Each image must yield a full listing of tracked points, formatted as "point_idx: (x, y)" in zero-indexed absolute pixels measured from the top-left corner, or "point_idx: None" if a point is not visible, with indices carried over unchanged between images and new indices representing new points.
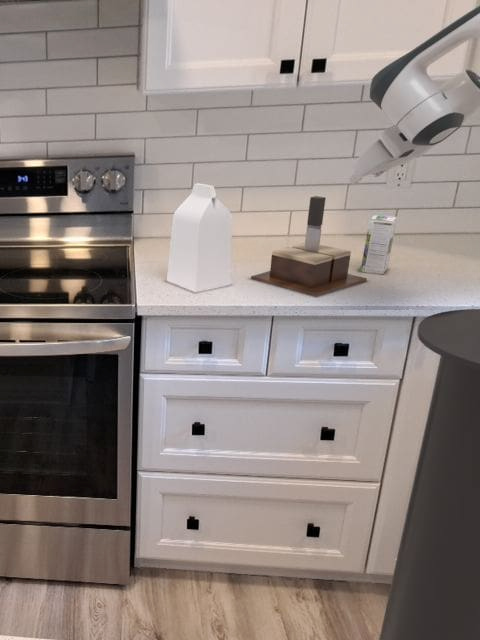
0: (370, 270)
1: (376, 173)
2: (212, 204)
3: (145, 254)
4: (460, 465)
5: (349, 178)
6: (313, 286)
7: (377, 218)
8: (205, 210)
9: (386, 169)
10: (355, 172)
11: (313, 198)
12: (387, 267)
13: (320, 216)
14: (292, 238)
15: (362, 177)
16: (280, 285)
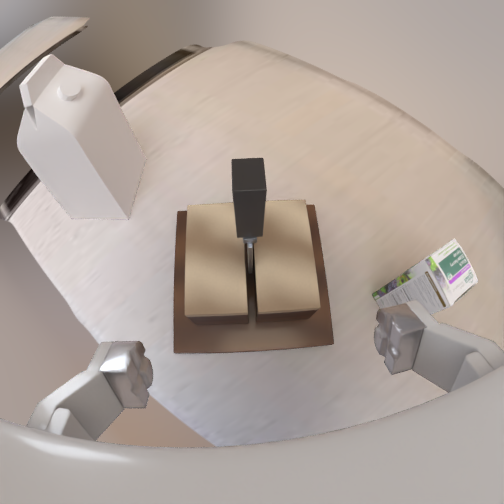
0: (381, 308)
1: (385, 342)
2: (28, 118)
3: (179, 75)
4: None
5: (101, 344)
6: (200, 324)
7: (440, 267)
8: (19, 130)
9: (434, 377)
10: (65, 388)
11: (232, 170)
12: None
13: (249, 224)
14: (402, 122)
15: (102, 431)
16: (174, 274)
